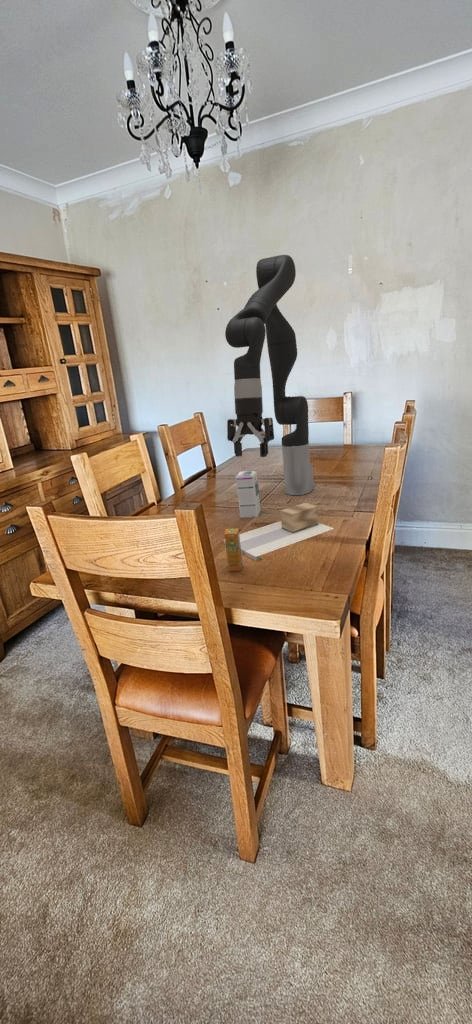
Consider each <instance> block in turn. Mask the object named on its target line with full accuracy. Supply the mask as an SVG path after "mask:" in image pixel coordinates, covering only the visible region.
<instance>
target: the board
mask: <svg viewBox="0 0 472 1024" xmlns="http://www.w3.org/2000/svg"><path fill="white" fill-rule="evenodd" d="M332 530H334V527H331V526H329V525H326V524H324V523H320V522H318V525H316V526H313V527H310V528H307V529H304V530H301V531H298V532H296V533H291V532H288V531H286V530H283V529H282V524H281V520H279V521H277V522H273V523H270V524H267V525H264V526H261V527H258V528H255V529H252V530H249V531H245V532H242V533H239V536H240V545H241V555H244V556H246V557H248V558H249V559H251V560H253V561H255V562H258V561H260V560H262V557H260V556H262V555H265V554H268V553H272V552H273V551H277V550H279V549H281V548H285V547H287V546H290V545H292V544H295V543H298V542H302V541H304V540H307V539H309V538H312V537H315V536H318V535H320V534H321V535H322V534H324V533H327V532H329V531H332ZM222 541H223V545H224V546H226V544H225V538H224V539H222Z"/></svg>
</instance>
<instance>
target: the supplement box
mask: <svg viewBox="0 0 472 1024" xmlns="http://www.w3.org/2000/svg"><path fill="white" fill-rule="evenodd" d="M239 534H240V529H239V527H238V528H237V527H236V528H225V530H224V539H225V544H226V545H225V544H224V545H225V552H226V559H227V569H228V572H241V571H242V568H243V565H244V563H243V558H242V557H243V554H242V553H241V545H240V536H239Z"/></svg>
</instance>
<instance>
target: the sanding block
mask: <svg viewBox="0 0 472 1024" xmlns="http://www.w3.org/2000/svg"><path fill="white" fill-rule="evenodd" d="M279 511H280V512H279V513H280V521H281V524H282V529H283V530H286V531H288V532H291V533H296V532H298V531H301V530H304V529H307V528H310V527H313V526H316V525H318V523H319V516H318V506H317V505H315V504H311V503H309V502H303V503H300V504H297V505H293V506H290V507H287V508H284V509H281V510H279Z"/></svg>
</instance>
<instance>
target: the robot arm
mask: <svg viewBox="0 0 472 1024" xmlns="http://www.w3.org/2000/svg"><path fill="white" fill-rule="evenodd" d="M255 273H256V274H255V275H256V280H257V281H256V282H257V287H258V289H256V291H255V292H254V293H252V294H251V296H250V297H249V299H248V300H247V302H246V304H245V305H244V307H243V309H241V310H240V311H238V312H237V313H236V314H235V315H234V316H232V318H231V319H230V320H229V321H228V323H227V325H226V327H225V331H224V333H225V334H224V336H225V339H226V340H225V341H226V342H227V344H228V345H229V346H230V347H232V348H235V349H238V348H248V349H247V351H246V353H244V355H240V356H238V357H236V358H235V359H234V360H233V373H234V374H233V376H234V384H233V385H234V386H233V387H234V388H233V391H234V392H233V393H234V394H233V396H234V397H233V398H234V411H235V412H234V413H235V415H236V419H235V418H231V419H227V425H226V426H227V427H226V428H227V429H226V431H227V434H226V435H227V437H226V438H227V441H228V442H231V443H233V450H234V455H235V457H237V458H239V457H242V456H243V443H242V440H243V439H244V437H245V436H246V435H252V436H253V435H254V436H255V437H256V438H257V439H258V441H259V455H260V458H265V457H267V456H268V454H269V442H270V441H274V439H275V430H274V423H273V422H274V420H273V418H272V417H265V418H263V412H264V409H263V407H264V405H263V389H262V388H263V386H262V380H261V359H262V353H263V349H264V348H263V347H264V345H265V339H266V344H267V351H268V358H269V359H268V360H269V365H270V371H271V381H272V395H273V396H272V397H273V399H272V400H273V410H274V418H275V420H276V423H277V424H278V425H281V426H282V425H285V426H287V425H290V426H291V425H296V426H295V429H294V430H293V431H292V432H289V433H288V434H285V435H283V436H282V437H281V449H282V450H281V451H282V462H283V476H284V488H285V489H284V491H285V494H287V495H290V496H301V495H307V494H309V493H311V492H312V491H314V490H315V489H314V487H315V485H314V472H313V464H312V463H311V460H310V459H311V458H310V446H309V444H310V443H309V442H310V440H309V429H310V428H309V404H308V400H307V398H306V397H305V396H304V395H302V396H301V395H299V396H298V395H297V396H286V385H287V381H288V378H289V377H290V374H291V372H292V370H293V367H294V365H295V363H296V361H297V357H298V347H297V345H298V344H297V337H296V333H295V330H294V329H293V327H292V326H291V324H290V323H289V321H288V320H287V319H286V317H285V316H284V315H283V313H282V312H281V311H280V308H279V306H278V303H279V301H280V300H281V299H282V298H283V297H284V296H285V294H286V293H288V291H289V290H290V289H291V288H292V286H293V285H294V283H295V279H296V275H297V274H296V273H297V272H296V264H295V262H294V259H293V258H292V257H291V256H290V255H289V254H279V255H275V256H270V257H264V258H261V259H259V260H258V262H257V263H256V268H255ZM263 427H264V428H263Z"/></svg>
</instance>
